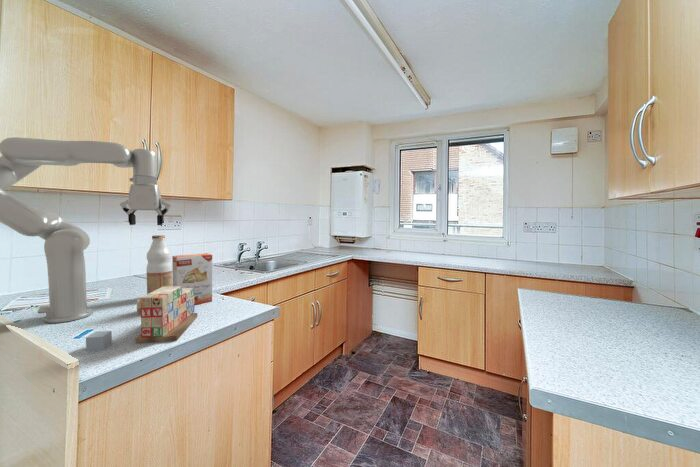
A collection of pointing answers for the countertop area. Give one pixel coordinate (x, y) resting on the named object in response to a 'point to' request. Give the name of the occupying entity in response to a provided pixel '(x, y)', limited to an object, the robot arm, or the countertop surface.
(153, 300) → the stack of blocks
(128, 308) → the countertop surface
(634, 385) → the countertop surface
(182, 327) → the walnut board
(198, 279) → the cracker box
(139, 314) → the beech cube
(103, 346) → the slate cube
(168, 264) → the fruit juice
